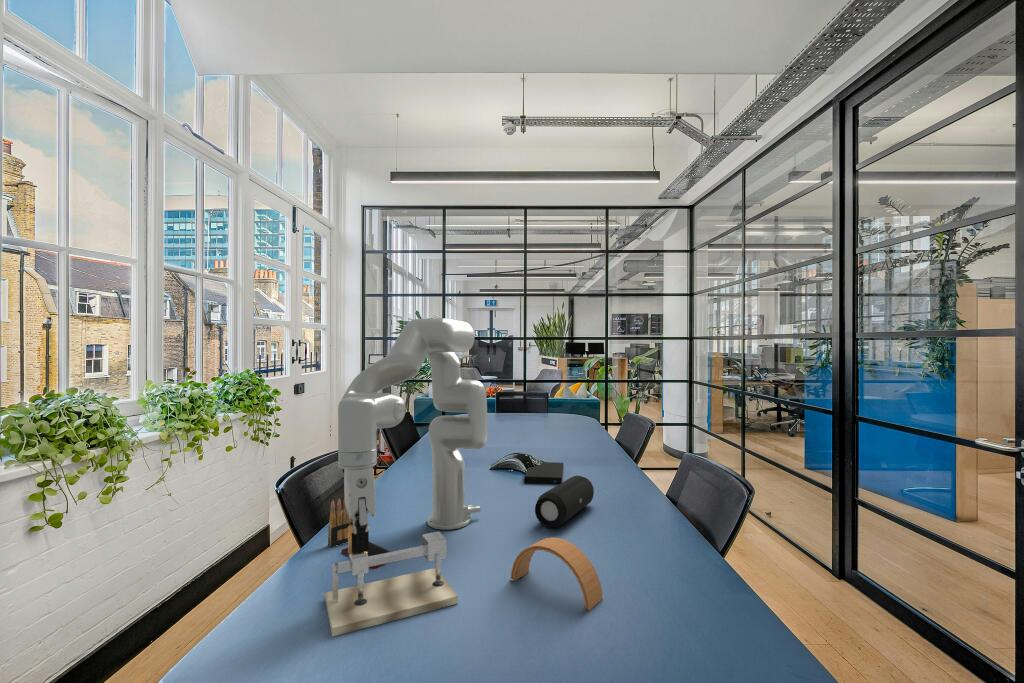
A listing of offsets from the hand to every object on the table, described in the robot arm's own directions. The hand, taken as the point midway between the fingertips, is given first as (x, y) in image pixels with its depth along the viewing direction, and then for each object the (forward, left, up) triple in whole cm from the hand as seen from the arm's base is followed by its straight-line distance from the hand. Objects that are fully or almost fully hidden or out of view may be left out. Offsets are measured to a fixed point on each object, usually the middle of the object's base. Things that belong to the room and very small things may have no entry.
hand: (358, 546), depth 97 cm
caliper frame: (-7, 0, -10) cm, 12 cm away
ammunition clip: (-2, -34, -12) cm, 36 cm away
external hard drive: (-82, -64, -12) cm, 105 cm away
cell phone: (-6, -22, -12) cm, 26 cm away
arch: (-39, +14, -12) cm, 43 cm away
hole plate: (-6, +3, -11) cm, 13 cm away
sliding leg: (0, +1, -9) cm, 10 cm away
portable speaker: (-65, -22, -12) cm, 70 cm away
